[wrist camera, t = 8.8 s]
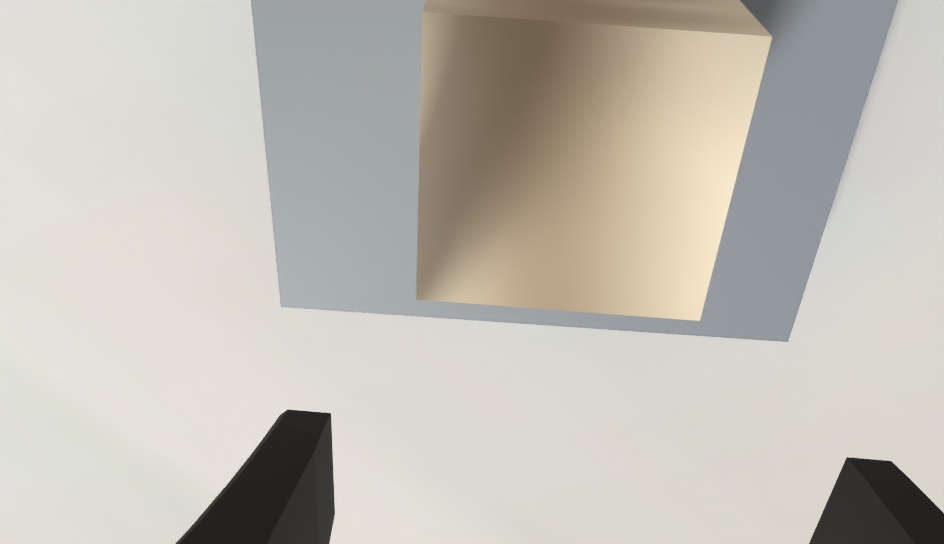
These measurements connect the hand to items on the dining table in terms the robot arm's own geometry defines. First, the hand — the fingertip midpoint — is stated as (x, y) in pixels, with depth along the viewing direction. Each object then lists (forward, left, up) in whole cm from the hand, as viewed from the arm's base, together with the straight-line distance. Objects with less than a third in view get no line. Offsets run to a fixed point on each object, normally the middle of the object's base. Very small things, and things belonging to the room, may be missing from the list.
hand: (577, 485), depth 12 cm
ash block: (0, -4, -7) cm, 8 cm away
